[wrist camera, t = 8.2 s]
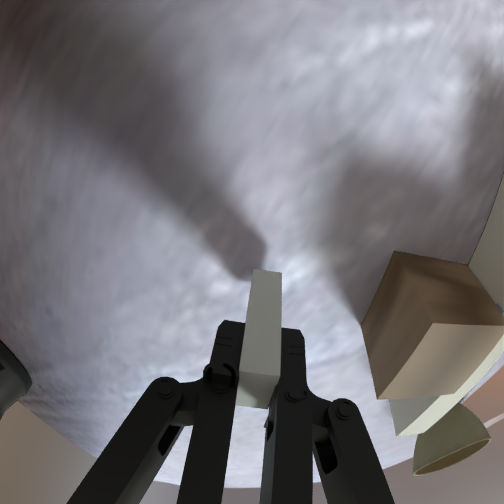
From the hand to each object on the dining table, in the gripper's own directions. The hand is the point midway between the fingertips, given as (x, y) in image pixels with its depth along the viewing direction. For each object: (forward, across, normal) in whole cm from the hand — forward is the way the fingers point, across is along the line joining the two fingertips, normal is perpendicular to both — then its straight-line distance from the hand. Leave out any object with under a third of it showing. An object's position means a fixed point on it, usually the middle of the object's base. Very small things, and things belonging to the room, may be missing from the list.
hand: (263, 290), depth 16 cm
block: (+1, +10, 0) cm, 10 cm away
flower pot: (+1, +25, -17) cm, 30 cm away
